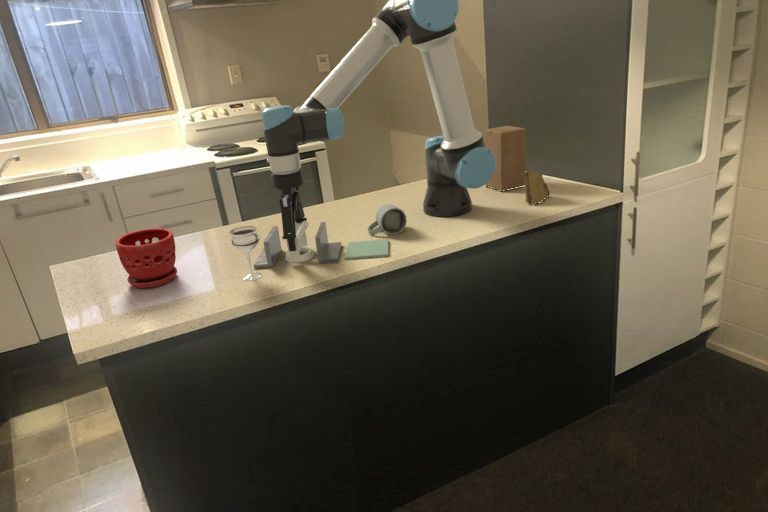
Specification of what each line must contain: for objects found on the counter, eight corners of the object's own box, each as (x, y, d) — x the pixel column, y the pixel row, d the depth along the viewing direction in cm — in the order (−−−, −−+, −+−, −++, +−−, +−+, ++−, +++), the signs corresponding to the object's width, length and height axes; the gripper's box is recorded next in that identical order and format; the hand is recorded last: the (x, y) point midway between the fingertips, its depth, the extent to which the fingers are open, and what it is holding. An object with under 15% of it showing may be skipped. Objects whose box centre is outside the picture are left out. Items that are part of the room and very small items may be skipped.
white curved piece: (327, 241, 135) (302, 230, 132) (306, 275, 140) (281, 265, 137) (327, 226, 141) (303, 215, 138) (306, 259, 146) (282, 250, 144)
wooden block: (501, 192, 180) (501, 132, 173) (484, 186, 189) (483, 129, 181) (525, 187, 184) (526, 128, 176) (507, 181, 192) (507, 125, 185)
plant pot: (127, 297, 126) (113, 249, 122) (128, 277, 137) (115, 234, 133) (185, 283, 131) (173, 237, 126) (181, 266, 142) (170, 223, 138)
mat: (388, 241, 146) (388, 239, 146) (388, 256, 136) (388, 254, 135) (348, 244, 146) (348, 242, 146) (345, 259, 136) (344, 257, 136)
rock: (543, 186, 175) (515, 186, 172) (555, 168, 167) (526, 168, 165) (554, 212, 169) (525, 213, 167) (566, 195, 162) (537, 196, 160)
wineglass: (242, 271, 134) (233, 226, 130) (268, 270, 134) (260, 224, 130) (234, 283, 128) (224, 236, 124) (262, 281, 128) (253, 234, 123)
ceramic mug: (399, 224, 159) (396, 199, 156) (408, 232, 151) (405, 206, 148) (364, 231, 156) (361, 205, 153) (372, 239, 149) (369, 213, 146)
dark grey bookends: (341, 245, 146) (338, 221, 143) (337, 262, 135) (334, 236, 132) (264, 251, 147) (260, 227, 144) (254, 268, 136) (249, 242, 133)
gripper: (280, 162, 143) (292, 239, 151) (260, 183, 122) (276, 272, 130) (307, 159, 143) (318, 237, 151) (293, 180, 121) (306, 269, 130)
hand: (299, 253), depth 141 cm, fingers open, 10 cm apart
